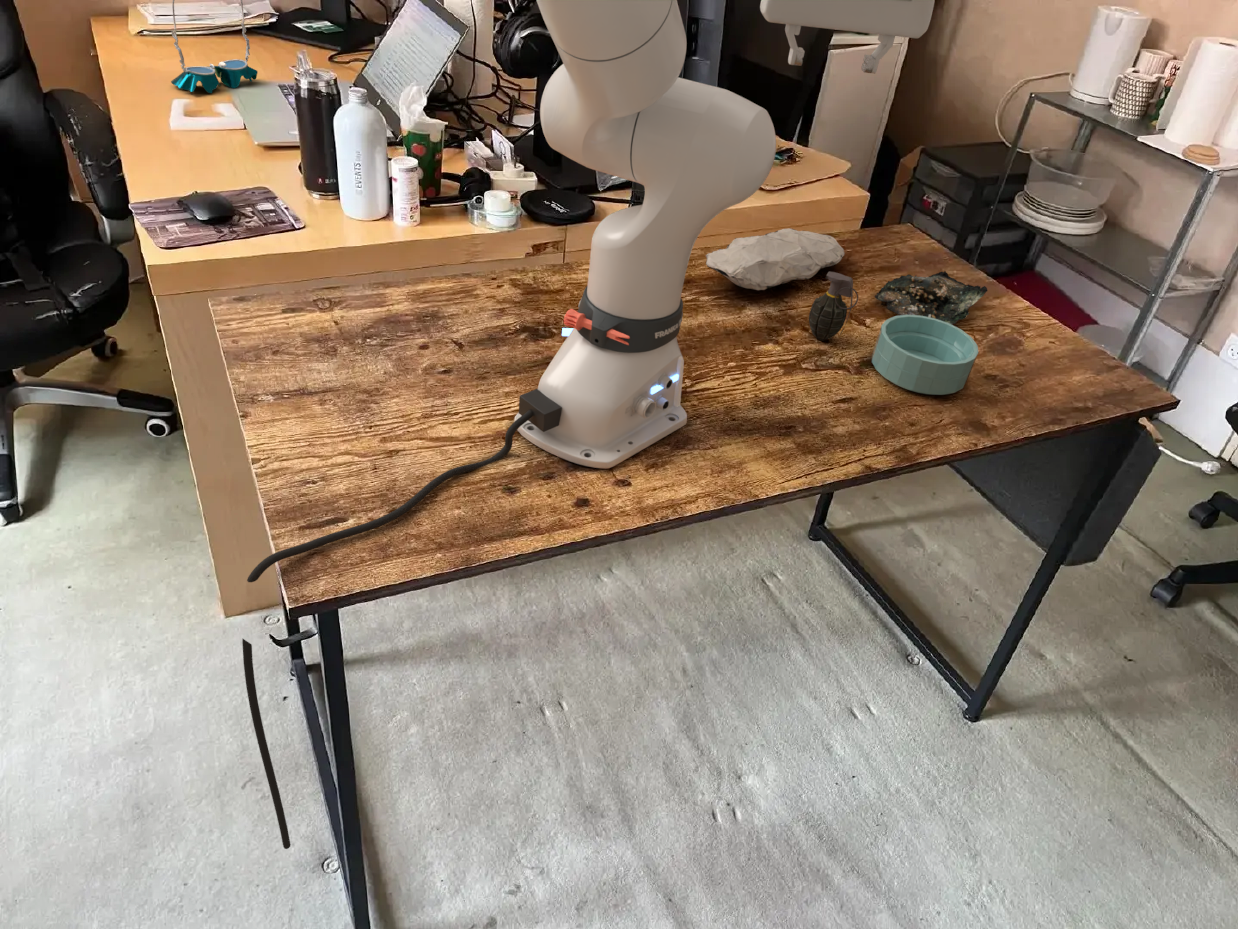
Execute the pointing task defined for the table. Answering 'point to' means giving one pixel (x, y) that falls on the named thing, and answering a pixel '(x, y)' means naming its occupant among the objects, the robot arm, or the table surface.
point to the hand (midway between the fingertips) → (831, 67)
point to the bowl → (924, 354)
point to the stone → (775, 258)
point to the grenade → (831, 307)
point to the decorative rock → (930, 296)
